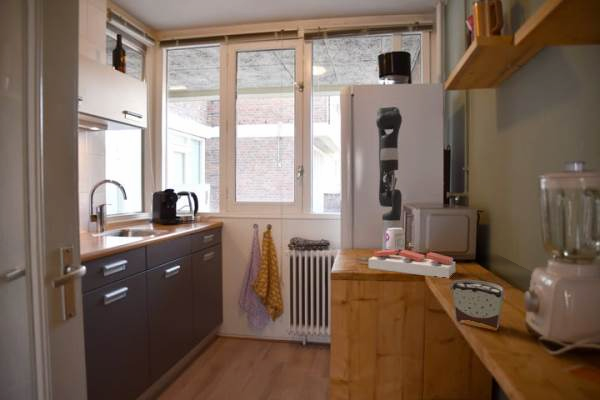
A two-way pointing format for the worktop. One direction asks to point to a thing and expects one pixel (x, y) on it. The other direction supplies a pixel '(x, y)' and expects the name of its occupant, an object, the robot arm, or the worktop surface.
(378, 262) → the power strip
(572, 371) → the worktop surface
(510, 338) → the worktop surface
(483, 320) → the food container
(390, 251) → the rocker
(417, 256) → the rocker middle
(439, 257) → the rocker
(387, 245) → the supplement can
